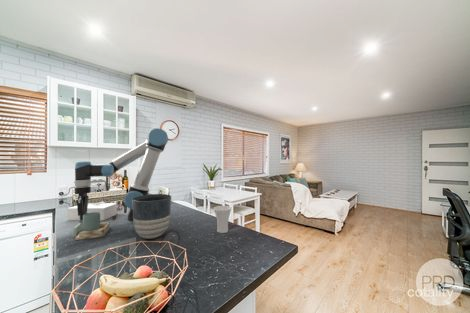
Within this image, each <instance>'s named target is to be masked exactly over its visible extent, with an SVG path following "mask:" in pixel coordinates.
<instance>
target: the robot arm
mask: <svg viewBox="0 0 470 313" xmlns="http://www.w3.org/2000/svg"><path fill="white" fill-rule="evenodd" d="M168 142H169V136H168V133H167V132H166V130H164V129H162V128H160V127H159V128H158V127H157V128H152V129H150V131H149V132H148V135H147V139H145V142H143V143H141V144H139V145H137V146H135V147H134V148H132V149H130V150H129V151H127V152H125V153H123V154H122V155H120V156H118V157H117V158H115V159H113V160H111V161H109V162H108V163H104V164H92V162H91V161H90V160H89V161H88V160H87V161H76V162H75V166H74V176H75V177H74V181H73V183H74V187H75V188H74V194H75V195H78V196H77V200H76V201H75V202H76V206H77V209H78V216H80V218H79V220H78V222H79V221H80V220H83V215H84V214H87V213H86V212H87V207H88V203H89V195H88V194H90V193H91V192H92V191H91V190H92V189H91V186H92V179H91V178H93V177H94V178H95V177H107V178H108V177H112V176H113V175H115V173H116V172H118V171H120V170H121V169H123V168H125V167H126V166H128V165H130V164H131V163H133V162H135V161H136V160H138V159H140V158H142V157H143V158H142V161H141V164H140V166H139V170H138V171H137V174H136V177H135V180H134V183H132V184H130V186H129V189H128V191H127V193H126V194H125V196H124V198H123V204H124V205H125V206H126V208H127V209H129V211H128V214H127V221H129V222H130V221H131V222H133V205H132V199H133V198H135V197H138V196H143V195H149V192H150V188H149V185H150V182H151V179H152V176H153V173H154V170H155V168H156V166H157V162H158V160H159V157H160V154H161V153H163V152H164V150H165V148H166V145H167V144H168Z"/></svg>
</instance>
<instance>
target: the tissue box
mask: <svg viewBox="0 0 470 313" xmlns="http://www.w3.org/2000/svg"><path fill="white" fill-rule="evenodd" d="M117 206H118V203H115V202H114V203H113V202H110V203H109V202H108V203H106V202H105V201H103V200H102V201H100V202H88V207H87V212H86V213H92V212H99V213H100V221H105V220H107V219H110V218H113V216H114V217H115V216H116V215H118V207H117ZM79 218H80V216H78V209H77V205H74V206H72V207H67V221H79Z"/></svg>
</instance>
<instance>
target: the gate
mask: <svg viewBox="0 0 470 313" xmlns="http://www.w3.org/2000/svg"><path fill="white" fill-rule="evenodd" d="M82 230H83V220H80V221H79V220H78V224H76V225H75V226H74V227H73V237H76V236H77V235H78V234H79V233H80V232H81V231H82Z"/></svg>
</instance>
